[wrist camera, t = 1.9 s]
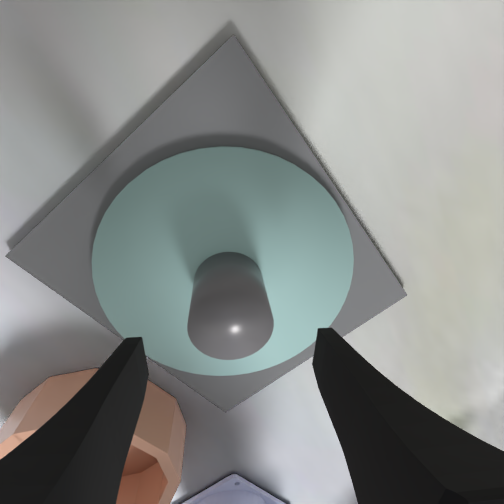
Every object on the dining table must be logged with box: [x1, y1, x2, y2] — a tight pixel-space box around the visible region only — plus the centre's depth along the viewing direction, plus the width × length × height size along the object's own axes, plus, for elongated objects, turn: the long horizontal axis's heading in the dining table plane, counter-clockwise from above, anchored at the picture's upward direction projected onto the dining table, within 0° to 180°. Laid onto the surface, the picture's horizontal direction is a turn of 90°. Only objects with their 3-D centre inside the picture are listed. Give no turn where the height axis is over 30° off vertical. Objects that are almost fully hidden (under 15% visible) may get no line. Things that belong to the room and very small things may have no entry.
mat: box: [6, 34, 407, 413], centre depth 18 cm, size 18×16×1 cm
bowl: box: [0, 368, 186, 504], centre depth 21 cm, size 12×12×4 cm
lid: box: [92, 146, 354, 376], centre depth 16 cm, size 15×15×5 cm
